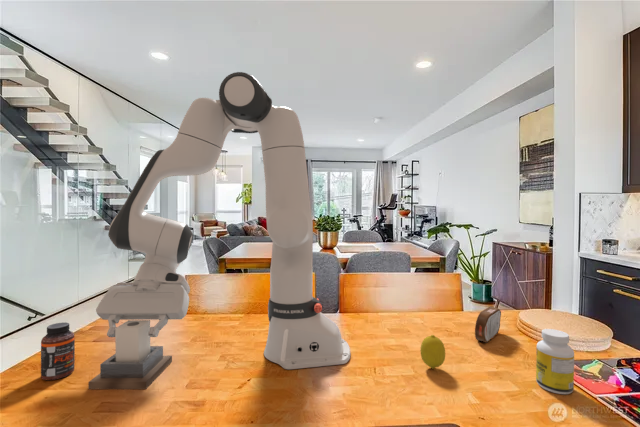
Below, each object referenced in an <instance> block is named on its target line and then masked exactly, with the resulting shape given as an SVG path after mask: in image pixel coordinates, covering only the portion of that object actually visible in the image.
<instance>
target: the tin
mask: <svg viewBox="0 0 640 427" xmlns="http://www.w3.org/2000/svg"><path fill="white" fill-rule="evenodd" d="M501 316H502V312H501V309H499V308H497V307H493V306H490V305H489V306H488V307H487V308H485V309H483V310H482V311H480V312H479V313H478V316H477V317H476V322H475V326H474V337H475V340H476V341H480V342H482V341H483V343H489V342H490V341H491V340H492V339H494V338H495V337H496V336H497V335H498V333H499V331H500V328H501V318H502V317H501ZM496 334H497V335H496ZM495 335H496V336H495ZM494 336H495V337H494ZM491 338H492V339H491ZM490 339H491V340H490ZM489 340H490V341H489ZM488 341H489V342H488Z"/></svg>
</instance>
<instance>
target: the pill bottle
mask: <svg viewBox="0 0 640 427" xmlns="http://www.w3.org/2000/svg"><path fill="white" fill-rule="evenodd" d="M541 338H542V340H539V341H538V342H537V343H536V358H535V360H536V364H535V365H536V366H535V370H536V371H535V372H536V374H535V380H536V383H537V385H538V386H539V387H541V388H542V389H544V390H545V391H548V392H550V393H554V394H559V395H569V394H571V393H573V392H574V390H575V389H574V388H575V386H574V384H575V382H574V380H575V378H574V377H575V376H574V375H575V351H574V349H573V348H572V347H571V345H569V343H570V334H568V333H567V332H564V331H562V330H559V329H555V328H554V329H553V328H544V329H542V330H541Z"/></svg>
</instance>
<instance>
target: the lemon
mask: <svg viewBox="0 0 640 427" xmlns="http://www.w3.org/2000/svg"><path fill="white" fill-rule="evenodd" d="M419 352H420V356H421V360H422V362H424V364H425V365H426V366H428V367H430V369H431V368H432V369H431V370H434V369H436V368H439V367H441V366H442V365H443V363H444V362H445V360H446V348H445V345H444V343H443V341H442V340H441V339H440V338H438V336H435V335H434V334H431V335H429V336H426V337H424V338H423V340H422V341H421V345H420V351H419Z"/></svg>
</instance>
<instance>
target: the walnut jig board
mask: <svg viewBox="0 0 640 427" xmlns="http://www.w3.org/2000/svg"><path fill="white" fill-rule="evenodd" d="M172 362H173V355H163V359H162V360H161V361H160V362H159V363H158V364H157V365H156V366H155V367H154V368H153V369H152V370H151V371H150V372H149V373H148V374H147V375H146V376H145V377H144V378H100V373H98V374H97V375H96V376H95V377H93V378H92V379H91V380H89V381H88V384H87V385H88V388H87V389H88V390H147V389H148V388H149V387H150V386H151V385H152V384H153V383H154V382H155V380H157V378H158V377H159V376H160V375H161V374H162V373H163V372H164V371H165V370H166V369H167V368H168V367H169V366H170V364H171V363H172Z"/></svg>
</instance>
